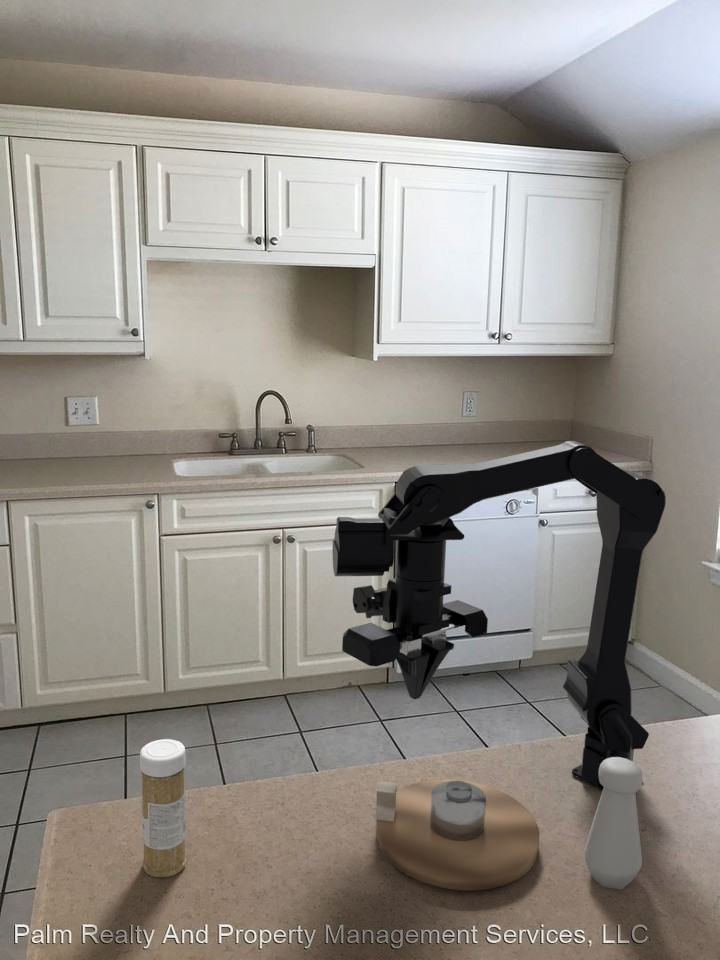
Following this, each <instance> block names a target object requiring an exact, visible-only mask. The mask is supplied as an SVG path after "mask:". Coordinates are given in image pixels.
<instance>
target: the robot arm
mask: <svg viewBox="0 0 720 960" xmlns="http://www.w3.org/2000/svg"><path fill="white" fill-rule="evenodd" d="M571 480H575V481H577V482H579V483H580V485H583V486H584V487H585V488H586V489H587V490H590V491H591V492H593V493H594V494H596V497H595V498H596V518H597V522H598V526H599V527H598V528H599V530H600V535H601V538H602V539H601V541H602V542H601V543H602V546H601V553H600V559H599V565H598V573H597V579H596V586H595V593H594V600H593V604H592V613H591V620H590V626H589V633H588V638H587V647H586V650H585V652H584V654H583V655H581V657H580V659H578V660H573V659H569V660H567V664H566V666H567V674H566V679H565V681H564V683H563V686H562V688H563V690H564V691H565V692H566V696H567V699H568V702H569V703H570V705H571V706H572V707H573V708H574V709H575V711H576V712H577V713H578V715H579V716H580V718H581V720H583V721H584V722H585V723H586V724H587V726H588V727H587V731H586V732H587V733H585V735H584V746H583V749H582V758H581V759H582V760H581V764H580V765H578V766H575V767H574V768H572V769H571V774H572V775H573V776H575V777H577V778H578V779H580V780H582V781H584V782H586V783H588V784H590V785H592V786H594V787H595V788H597V789H599V790H600V791H603V788H604V787H603V786H602V785H601V784H600V781H599V767H600V764H601V763H602V762H603V760H605V759H607V758H611V757H621V758H625V759H628V760H630V761H633V762H634V752H635V750H642V749H643V748H644V747H645V744H646V742H647V740H648V739H649V736H650V734H649V732H648V731H647V729H646V728H644V727H643V725H642V724H641V723H640V722H639V721H638V720H637V719H636V718H635V717H634V716H633V715H632V711H633V708H632V700H633V699H632V685H631V683H630V677H629V673H628V669H627V664H626V658H627V653H628V645H629V639H630V632H631V627H632V621H633V614H634V608H635V602H636V595H637V589H638V583H639V578H640V576H639V575H640V569H641V565H642V557H643V553H644V550H645V548H646V547H647V546H648V544H649V543H650V541H651V540H652V539H653V537H654V536H655V535H656V533H657V532H658V529H659V526H660V523H661V520H662V517H663V515H664V511H665V508H666V503H667V497H666V493H665V491H664V490H663V489H662V487H661V486H660V485H659V483H657V482H656V481H654V480H653V479H650V478H648V477H646V476H644V475H641V474H638V473H636V472H635V471H631V470H628V469H624V468H620V467H619V466H617V465H615V464H613V462H610V461H609V460H607V459H606V458H604V457H602V456H601V455H600V454H598V453H597V452H596V451H595V450H594V449H593V447H591V446H589V445H587V444H584V443H581V442H578V441H575V440H567V441H564V442H562V443H560V444H558V445H553V446H548V447H544V448H539V449H536V450H531V451H527V452H526V451H525V452H522V453H517V454H513V455H509V456H505V457H500V458H495V459H491V460H486V461H482V462H477V463H473V464H461V465H460V464H425V465H424V464H421V465H420V464H419V465H413V466H412V467H411V466H410V467H409V468H407V469H405V470H404V471H403V472H401V474H400V476H399V478H398V479H397V482H396V486H395V492H394V493H393V495H392V496H391V498H389V499H388V501H387V502H386V503H385V505H384V506H383V507H382V508H381V510H380V511H379V512H378V514H377V516H378V517H377V518H356V517H355V518H353V517H350V516H338V517H337V518H336V526H335V531H334V538H333V539H332V568H333V575H334V577H378V576H379V577H381V576H383V577H384V574H385V573H386V572H387V573H388V572H390V568H392V567H393V565H394V562H396V568H395V577H394V578H390V579H388V581H387V583H386V587H383V588H377V589H375V588H374V587H373V585H372V584H370V585H362V586H358V587H354V588H353V594H352V605H353V609H354V612H355V613H357V614H365V618H366V619H372V617H379V616H382V621H383V622H385V623H387V624H391V623H392V624H393V626H394V627H393V628H388V629H385V628H383V627H381V626H379V625H377V624H374V623H372V622H369V623H368V622H367V623H365V624H361V625H357V626H354V627H353V626H352V627H349V628H347V630H345V632H344V633H343V635H342V645H341V646H342V648H341V649H342V650H341V651H342V652H343V653H345V654H347V655H349V656H350V657H352V658H354V659H356V660H358V661H360V662H361V663H364V664H365V665H368V667H380V666H383V665H386V664H389V663H392V662H395V661H396V662H397V664H398V665H399V668H400V672H401V675H402V677H403V680H404V685H405V687H406V689H407V693H408V696H409V697H410V698H411V699H413V700H418V699H420V698H421V696H422V695H423V694H424V691H425V690H426V688H427V686H428V685H429V683H430V682H431V679H432V678H433V676H434V675H435V673H436V672H437V670H438V668H439V667H440V665H441V664H442V662H443V660H444V659H445V658H446V657H447V655H448V654H449V652H450V651H451V650H454V648H455V643H452V642H450V641H449V640H447V634H446V631H450V630H453V629H457V628H460V627H464V632H465V633H466V635H468V637H470V638H475V637H478V636H482V635H486V634H487V633H488V621H489V619H488V617H487V614H486V613H485V611H484V609H481V608H479V607H476V606H474V605H471V604H469V603H466V602H464V601H462V600H459V599H457V600H453V601H449V602H446V603H444V596H447V595H450V594H451V595H452V585H451V584H448V583H446V582H445V574H446V573H445V572H446V571H445V570H446V554H447V553H446V552H447V550H446V549H447V541H462V540H464V539H465V535H464V534H463V532H462V531H461V530H460V529H459V528H458V527H457V526H456V525H455V523H454V521H453V519H452V517H453V516H456V515H459V514H461V513H463V512H464V511H466V510H467V509H468V508H470V507H472V506H473V505H475V504H476V503H479V502H481V501H483V500H488V499H491V498H492V499H493V498H497V497H501V496H505V495H510V494H513V493H514V494H515V493H519V492H523V491H529V490H531V489H537V488H540V487H544V486H549V485H552V484H558V483H562V482H567V481H571ZM395 541H396V560H395ZM394 560H395V561H394Z"/></svg>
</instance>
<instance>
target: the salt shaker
mask: <svg viewBox="0 0 720 960" xmlns="http://www.w3.org/2000/svg"><path fill="white" fill-rule="evenodd" d="M599 781H600V784H601V785H602V786H603V787H604V788H603V791H602V790H601V791H602V792H601V795H600V799H599V801H598V805H597V807H596V810H595V813H594V816H593V820H592V823H591V827H590V829H589V832H588V836H587V839H586V842H585V845H584V858H585V859H584V860H585V862H586V865H587V868H588V871H589V874H590V877H591V878H592V879H594V881H596V882H597V883H599V885H601V886H602V887H603V888H609V889H616V890H621V891H622V890H624V888H626V887H628V885H629V884H631V883H632V882H633V881H634V879H635V877H636V876H637V875H638V873H639V872H640V871H641V869H642V865H643V858H642V848H641V837H640V829H639V828H640V827H639V817H638V808H637V798H636V794H637V793H638V792H639V790H640V789H641V788H642V784H643V781H644V779H643V771H642V769H641V768H640V767H639V766H638V765H637V763H635V762H634V760H633V761H630V760H628V759H625V758H621V757H611V758H607V759H605V760H603V762H602V763H601V764H600V767H599Z"/></svg>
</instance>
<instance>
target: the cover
mask: <svg viewBox="0 0 720 960" xmlns="http://www.w3.org/2000/svg"><path fill="white" fill-rule="evenodd" d="M463 781H464V780H462V781H448V782H443V783H440V784H438V785H437V786H435V787H434V788H433V790H432V794H431V814H430V825H431V828H432V829H433V830H434V832H436V833H437V834H438V835H440V836H442V837H444V838H446V839H449V840H454V841H468V840H473V839H475V838H477V837H479V836H480V835H481V834H482V833H483V831H484V825H485V809H486V796H485V794H484V792H483V791H482V790H481V789H480V788H478V787H477V786H475V785H473V784H470V783H467V782H463Z"/></svg>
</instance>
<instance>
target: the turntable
mask: <svg viewBox="0 0 720 960" xmlns="http://www.w3.org/2000/svg"><path fill="white" fill-rule="evenodd" d="M448 781H463V782H467V783H470V784H473V785H475V786H477V787H478V788H480V789H481V790H482V791H483V792H484V794H485V796H486V809H485V825H484V831H483V833H482V834H481V835H480V836H479V837H477V838H475V839H473V840H468V841H454V840H449V839H446V838H444V837H442V836H440V835H438V834H437V833H436V832H434V830H433V829H432V828H431V825H430V814H431V794H432V790H433V788H434V787H435V786H437V785H438V784H440V783H443V782H448ZM397 787H398V786H397V783H396V782H389V781H387V782H386V781H378V785H377V789H376V803H375V806H376V809H375V823H376V824H375V825H376V826H375V833H376V834H375V837H376V841H377V845H378V847H379V849H380V851H381V853H382V854H383V855H384V857H385V858H386V859H387V860H388V861H389V862H390V864H392V865H393V866H394V867H395V868H397V869H398V870H399V871H401V872H402V873H403V874H405V875H407V876H409V877H411V878H413V879H415V880H417V881H419V882H421V883H425V884H428V885H430V886H434V887H439V888H442V889H448V890H454V891H483V890H490V889H495V888H496V889H497V888H500V887H503V886H506V885H509V884H511V883H513V882H515V881H518V880H519V879H521V878H522V877H524V876H525V874H527V873H528V872H529V871H530V870H531V869H532V867H533V866H534V865H535V863H536V861H537V859H538V855H539V850H540V849H539V848H540V829H539V826H538V823H537V820H535V818H534V816H533V814H532V812H530V810H528V808H527V807H525V806H524V805H523V804H522V803H521V802H519V801H518V800H517V799H516V798H514V797H513V796H511V795H509V794H507V793H505V792H503V791H501V790H500V789H496V788H494V787H491V786H488V785H485V784H482V783H479V782H474V781H469V780H468V781H467V780H461V779H450V778H449V779H448V778H447V779H446V778H445V779H430V780H423V781H420V782H419V781H418V782H415V783H411V784H409V785H405V786H403V787H401V788H399V789H397Z"/></svg>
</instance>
